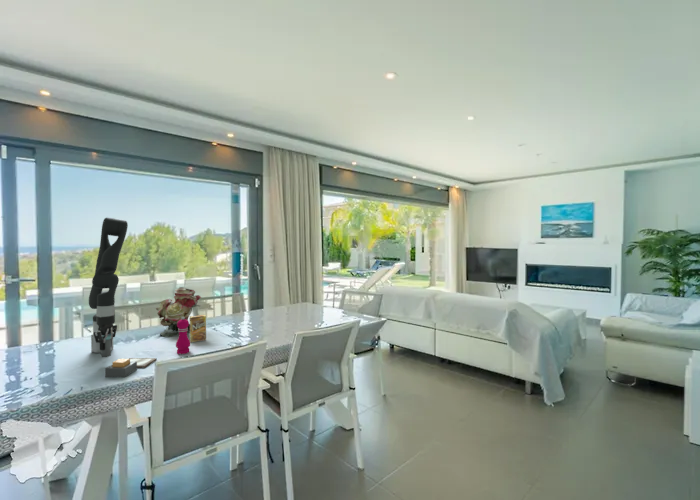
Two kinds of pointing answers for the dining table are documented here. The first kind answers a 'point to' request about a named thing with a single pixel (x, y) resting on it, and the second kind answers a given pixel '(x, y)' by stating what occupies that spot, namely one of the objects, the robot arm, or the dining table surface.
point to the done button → (121, 363)
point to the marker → (107, 347)
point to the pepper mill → (182, 336)
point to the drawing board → (143, 361)
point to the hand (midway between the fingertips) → (105, 348)
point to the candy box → (197, 328)
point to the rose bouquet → (177, 310)
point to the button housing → (121, 370)
